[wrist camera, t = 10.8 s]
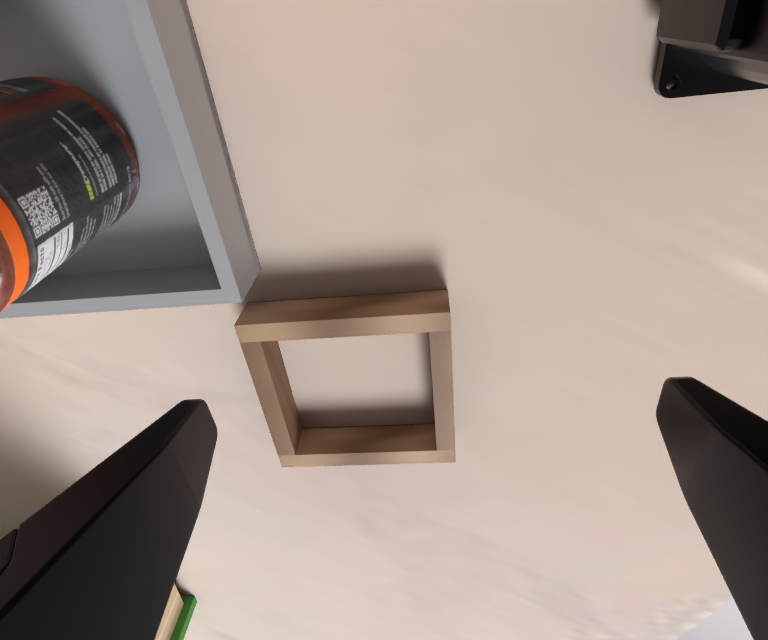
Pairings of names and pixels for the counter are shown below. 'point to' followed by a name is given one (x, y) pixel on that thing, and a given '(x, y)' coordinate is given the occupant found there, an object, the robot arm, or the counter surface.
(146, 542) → the robot arm
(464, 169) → the counter surface
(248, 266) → the tray
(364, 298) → the brown wooden square frame
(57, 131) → the supplement bottle
